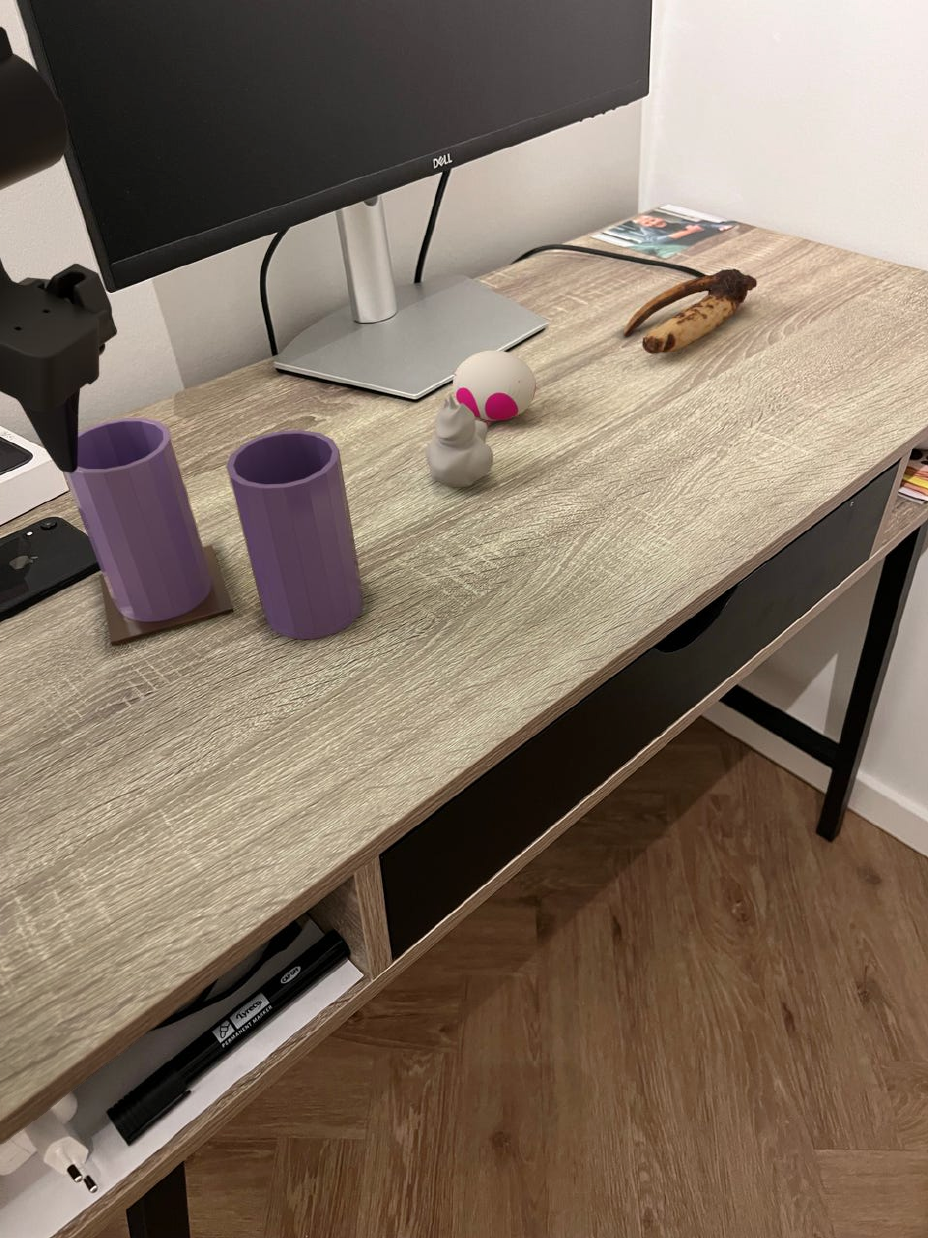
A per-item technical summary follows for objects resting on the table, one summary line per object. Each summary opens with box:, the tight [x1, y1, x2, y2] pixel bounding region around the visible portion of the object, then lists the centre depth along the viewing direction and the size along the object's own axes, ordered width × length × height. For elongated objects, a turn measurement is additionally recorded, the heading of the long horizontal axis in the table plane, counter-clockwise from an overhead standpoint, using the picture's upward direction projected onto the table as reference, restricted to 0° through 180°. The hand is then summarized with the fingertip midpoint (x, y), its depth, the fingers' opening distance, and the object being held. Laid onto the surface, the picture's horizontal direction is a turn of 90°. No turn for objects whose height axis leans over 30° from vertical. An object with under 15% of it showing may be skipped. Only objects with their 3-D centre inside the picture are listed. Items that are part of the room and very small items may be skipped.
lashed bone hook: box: [622, 268, 758, 355], centre depth 97 cm, size 9×5×18 cm
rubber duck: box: [425, 393, 494, 488], centre depth 77 cm, size 5×7×8 cm
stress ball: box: [452, 350, 537, 426], centre depth 86 cm, size 8×8×7 cm
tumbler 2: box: [225, 429, 364, 640], centre depth 64 cm, size 7×7×12 cm
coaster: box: [98, 544, 235, 647], centre depth 70 cm, size 8×8×1 cm
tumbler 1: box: [63, 417, 212, 622], centre depth 66 cm, size 7×7×12 cm
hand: (17, 512), depth 56 cm, fingers open, 9 cm apart
